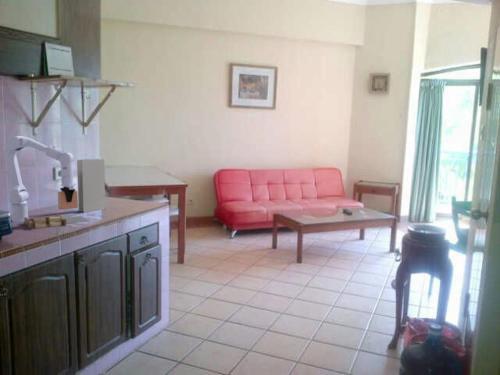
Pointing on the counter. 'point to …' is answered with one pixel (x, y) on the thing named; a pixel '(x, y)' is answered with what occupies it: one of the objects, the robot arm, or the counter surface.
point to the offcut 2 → (54, 221)
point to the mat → (75, 219)
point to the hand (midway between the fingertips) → (68, 201)
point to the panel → (63, 203)
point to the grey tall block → (91, 185)
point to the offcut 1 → (39, 223)
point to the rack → (31, 222)
